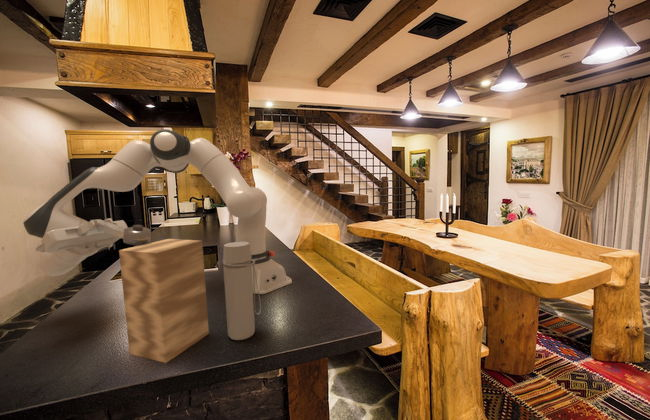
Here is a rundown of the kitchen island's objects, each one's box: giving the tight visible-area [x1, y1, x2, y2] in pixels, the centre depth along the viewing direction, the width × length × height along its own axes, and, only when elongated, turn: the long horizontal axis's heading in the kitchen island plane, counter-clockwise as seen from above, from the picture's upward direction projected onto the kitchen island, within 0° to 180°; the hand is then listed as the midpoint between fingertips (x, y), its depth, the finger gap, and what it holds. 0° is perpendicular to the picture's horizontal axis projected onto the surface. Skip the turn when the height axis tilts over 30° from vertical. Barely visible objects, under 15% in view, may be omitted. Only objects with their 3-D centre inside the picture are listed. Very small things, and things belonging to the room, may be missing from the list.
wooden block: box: [118, 238, 210, 364], centre depth 78 cm, size 12×14×26 cm
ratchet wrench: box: [89, 218, 152, 246], centre depth 81 cm, size 20×6×4 cm, turn 69°
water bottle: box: [222, 241, 262, 341], centre depth 81 cm, size 9×8×25 cm
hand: (102, 221), depth 83 cm, fingers closed on ratchet wrench, 2 cm apart
